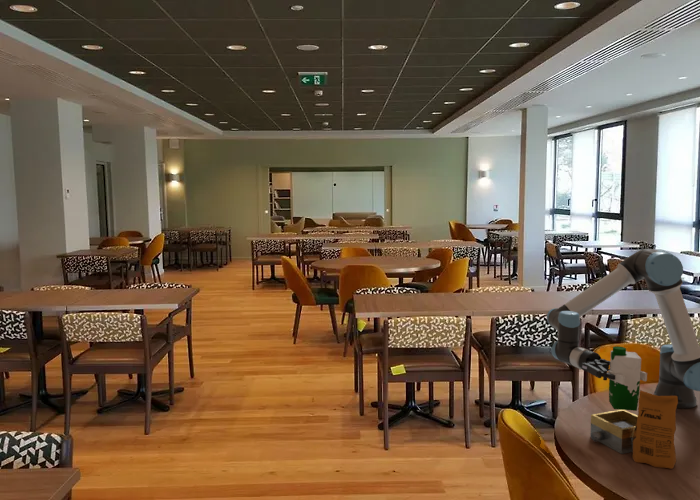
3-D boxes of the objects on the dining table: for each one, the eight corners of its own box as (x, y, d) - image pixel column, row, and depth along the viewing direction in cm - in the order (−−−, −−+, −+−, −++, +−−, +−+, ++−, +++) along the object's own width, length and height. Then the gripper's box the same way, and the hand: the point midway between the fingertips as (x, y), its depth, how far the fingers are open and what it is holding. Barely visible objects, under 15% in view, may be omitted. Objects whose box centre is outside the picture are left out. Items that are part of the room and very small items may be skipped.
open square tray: (622, 431, 211) (623, 409, 210) (654, 447, 197) (655, 423, 197) (583, 438, 205) (584, 415, 204) (614, 455, 192) (614, 431, 191)
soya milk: (605, 400, 206) (608, 344, 203) (633, 402, 204) (637, 345, 202) (611, 410, 197) (615, 350, 195) (641, 412, 195) (644, 352, 193)
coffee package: (634, 450, 195) (637, 385, 193) (677, 459, 188) (680, 392, 186) (629, 462, 187) (632, 394, 185) (674, 472, 180) (677, 401, 178)
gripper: (608, 367, 220) (659, 386, 199) (561, 373, 213) (608, 393, 192) (609, 347, 219) (660, 364, 198) (562, 352, 212) (609, 371, 191)
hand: (635, 378), depth 195 cm, fingers closed on soya milk, 8 cm apart
